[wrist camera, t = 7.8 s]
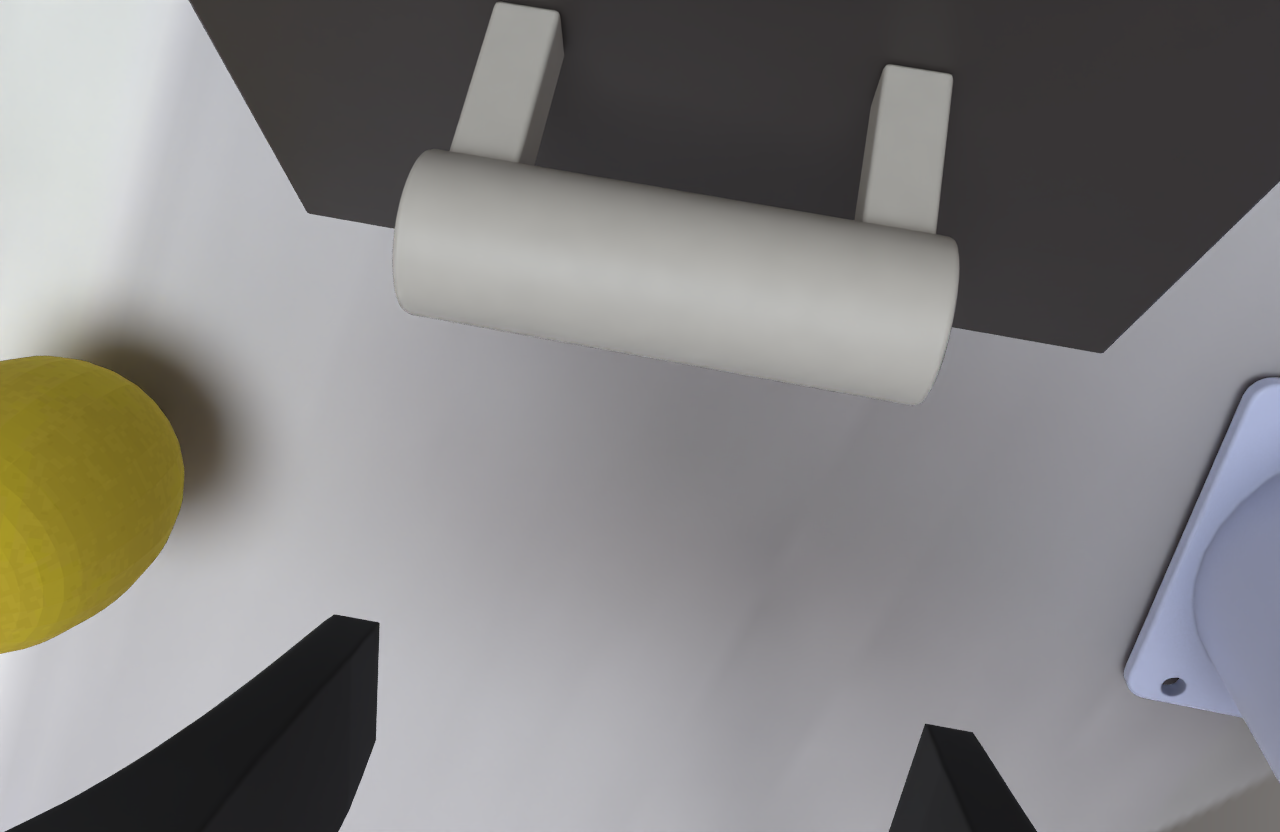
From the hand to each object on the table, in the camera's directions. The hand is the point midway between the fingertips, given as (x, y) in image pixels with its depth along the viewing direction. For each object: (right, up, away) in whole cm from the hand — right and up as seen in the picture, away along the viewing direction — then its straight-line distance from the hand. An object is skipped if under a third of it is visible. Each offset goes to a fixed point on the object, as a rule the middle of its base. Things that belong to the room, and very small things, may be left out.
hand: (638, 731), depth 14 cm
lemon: (-12, +4, +12) cm, 17 cm away
